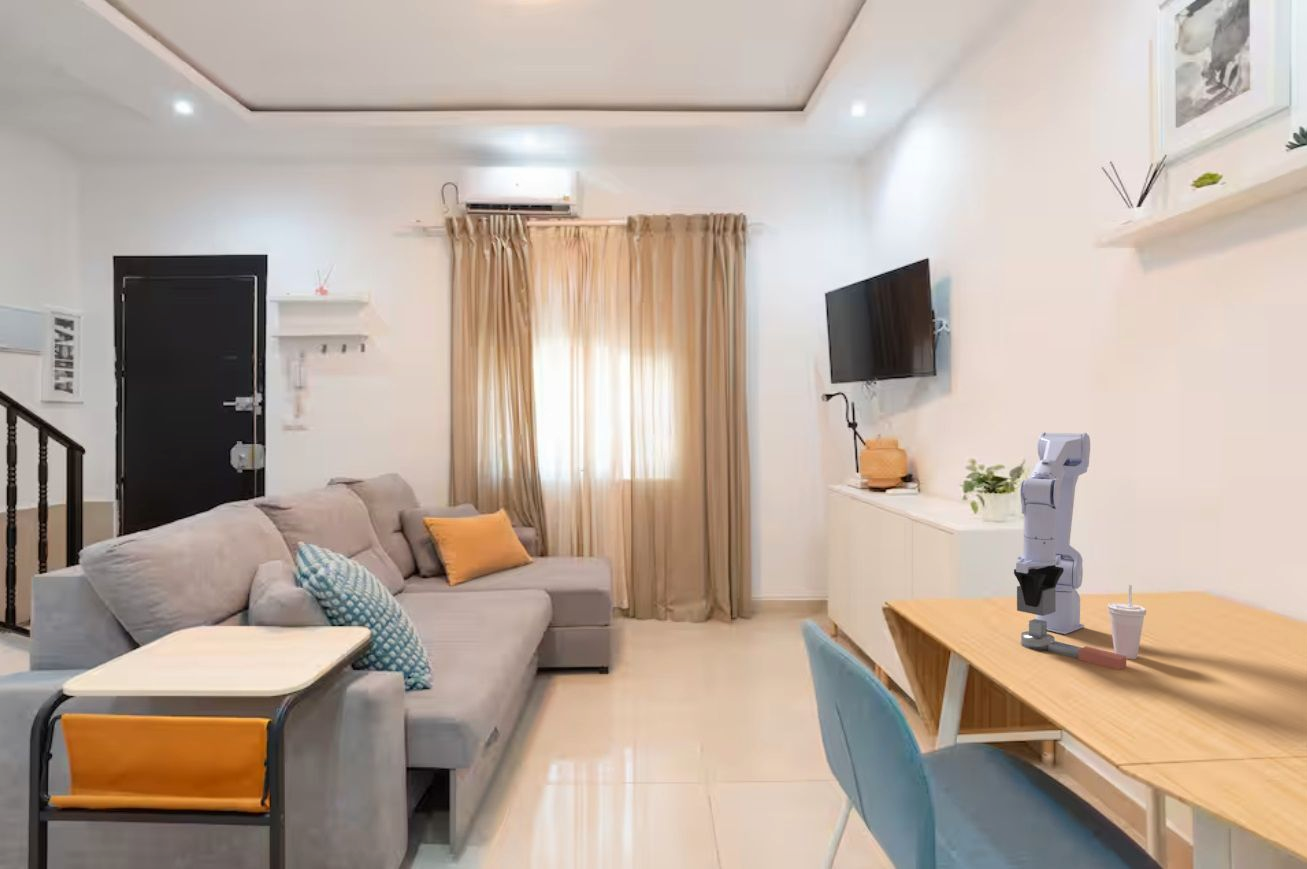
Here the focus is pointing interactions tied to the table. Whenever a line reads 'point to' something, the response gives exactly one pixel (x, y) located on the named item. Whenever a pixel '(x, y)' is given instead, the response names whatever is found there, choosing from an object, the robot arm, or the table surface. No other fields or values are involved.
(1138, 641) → the smoothie
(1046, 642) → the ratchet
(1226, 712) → the table surface
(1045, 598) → the hollow square tube
